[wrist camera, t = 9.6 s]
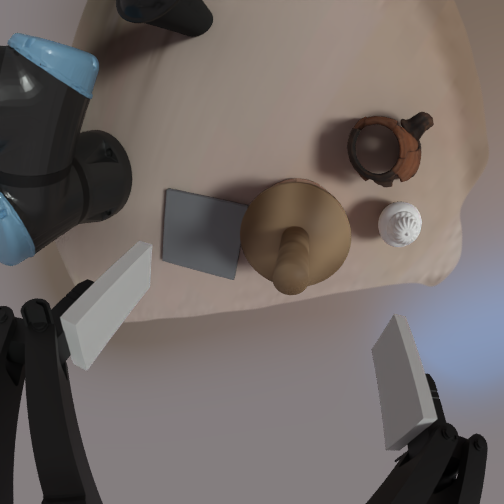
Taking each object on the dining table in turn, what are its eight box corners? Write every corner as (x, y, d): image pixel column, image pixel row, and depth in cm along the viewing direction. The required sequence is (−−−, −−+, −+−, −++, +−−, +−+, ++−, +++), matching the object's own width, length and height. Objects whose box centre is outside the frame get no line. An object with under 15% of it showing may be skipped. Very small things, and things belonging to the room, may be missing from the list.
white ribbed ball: (390, 185, 36) (405, 200, 30) (421, 210, 36) (439, 229, 30) (364, 220, 39) (374, 241, 33) (395, 243, 39) (408, 267, 33)
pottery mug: (393, 197, 37) (376, 205, 31) (349, 147, 39) (324, 145, 33) (452, 141, 29) (450, 135, 23) (402, 90, 31) (387, 74, 25)
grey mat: (164, 258, 47) (162, 260, 47) (169, 188, 42) (166, 189, 41) (234, 277, 46) (233, 280, 46) (248, 205, 41) (247, 207, 40)
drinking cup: (172, 3, 29) (84, -45, 11) (224, -4, 28) (159, -74, 10) (168, 48, 32) (71, 19, 15) (221, 43, 31) (147, -6, 14)
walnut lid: (234, 267, 39) (211, 316, 30) (252, 169, 33) (230, 193, 24) (331, 291, 38) (334, 346, 29) (363, 198, 32) (384, 232, 23)
